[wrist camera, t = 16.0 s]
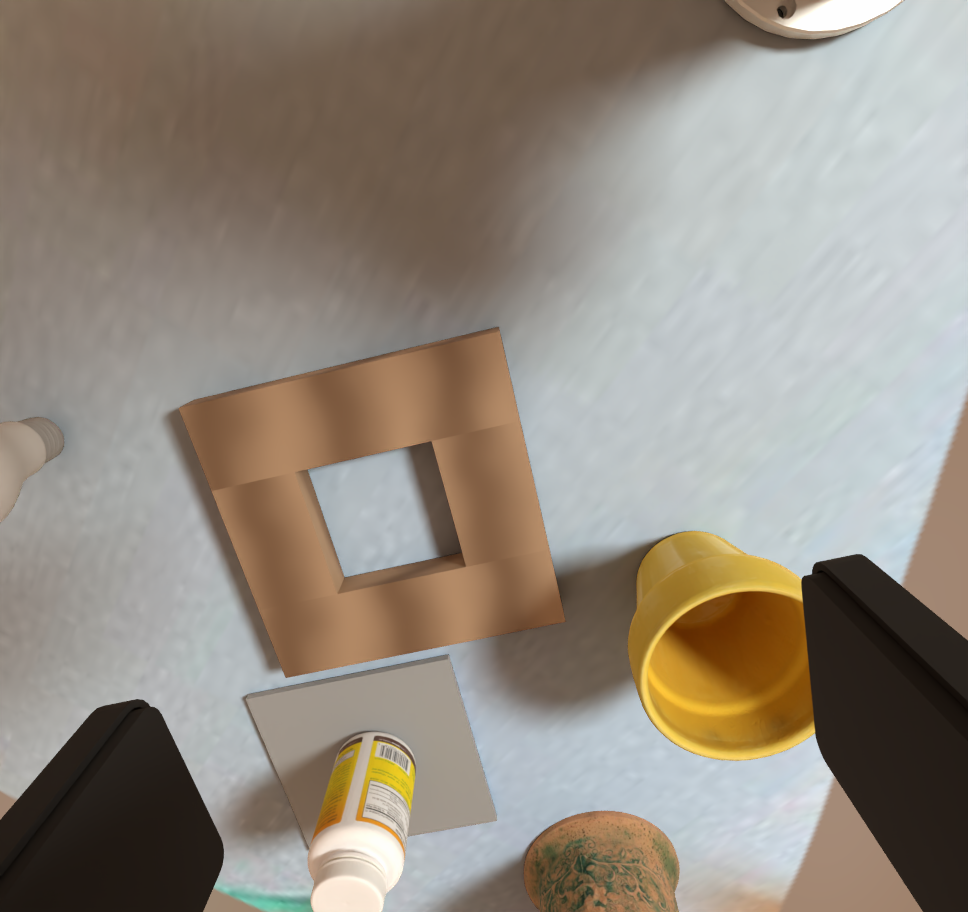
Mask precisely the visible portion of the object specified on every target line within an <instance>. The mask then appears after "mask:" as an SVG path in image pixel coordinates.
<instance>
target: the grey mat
mask: <svg viewBox="0 0 968 912" xmlns="http://www.w3.org/2000/svg"><path fill="white" fill-rule="evenodd" d="M246 701H247V704H248V706H249V708H250V711H251V713H252V715H253V718H254V720H255V723H256V725H257V727H258V730H259V732H260V734H261V737H262V739H263V741H264V744H265V746H266V748H267V751H268V753H269V755H270V758H271V760H272V762H273V765H274V767H275V769H276V772H277V774H278V777H279V779H280V781H281V784H282V786H283V788H284V791H285V793H286V795H287V798H288V800H289V802H290V805H291V807H292V809H293V812H294V814H295V816H296V819H297V821H298V824H299V826H300V828H301V831H302V833H303V835H304V838H305V840H306V842H307V845H308V847H309V848H310V845H311V842H312V838H313V835H314V831H315V828H316V825H317V821H318V818H319V815H320V811H321V808H322V804H323V801H324V797H325V794H326V790H327V787H328V784H329V780H330V777H331V774H332V770H333V767H334V763H335V760H336V757H337V754H338V752H339V750H340V749H341V747H342V746H343V745H344V744H345V743H346V742H347V741H348V740H349V739H351V738H352V737H354V736H356V735H359V734H362V733H366V732H384V733H388V734H391V735H393V736H395V737H397V738H399V739H401V740H402V741H403V742H404V743H406V745H407V746H408V747H409V748H410V750H411V751H412V753H413V755H414V758H415V762H416V776H415V782H414V790H413V797H412V805H411V813H410V821H409V828H408V836H413V835H419V834H425V833H430V832H436V831H442V830H447V829H453V828H459V827H464V826H470V825H476V824H481V823H487V822H493V821H497V814H496V811H495V808H494V804H493V801H492V798H491V794H490V791H489V788H488V784H487V781H486V777H485V774H484V771H483V767H482V764H481V761H480V757H479V754H478V751H477V747H476V744H475V741H474V737H473V734H472V731H471V727H470V724H469V721H468V717H467V714H466V711H465V707H464V704H463V701H462V697H461V694H460V691H459V687H458V684H457V681H456V677H455V674H454V671H453V667H452V664H451V661H450V657H449V654H448V655H443V656H438V657H433V658H428V659H423V660H418V661H413V662H408V663H403V664H398V665H393V666H388V667H383V668H378V669H373V670H368V671H363V672H358V673H353V674H348V675H343V676H338V677H333V678H328V679H323V680H318V681H313V682H308V683H303V684H298V685H293V686H288V687H283V688H278V689H273V690H268V691H263V692H258V693H253V694H248V696H247V698H246ZM408 836H407V837H408Z"/></svg>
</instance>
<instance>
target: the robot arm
mask: <svg viewBox="0 0 968 912" xmlns="http://www.w3.org/2000/svg"><path fill="white" fill-rule="evenodd" d="M724 1H725V2H726V3H727V4H728V5H729V6H730V7H732V8H733V9H734V10H735V11H736V12H737V13H738V14H739V15H740V16H741V17H743V18H744V19H745V20H747V21H749V22H750V23H752V24H754V25H756V26H757V27H759V28H761V29H763V30H764V31H767V32H770V33H774V34H777V35H781V36H784V37H787V38H798V39H820V38H826V37H832V36H838V35H842V34H844V33H847V32H850V31H852V30H855V29H858V28H860V27H863V26H865V25H867V24H869V23H870V22H872V21H874V20H876V19H877V18H879V17H881V16H883V15H885V14H887V13H888V12H889V11H891V10H892V9H894V8H895V7H896V6H898V5H899V4H900V3H902V2H903V1H905V0H724ZM777 9H781V10H782V11H783V18H781V17H780V16H779V15H778V12H777ZM801 589H802V599H803V610H804V620H805V631H806V641H807V652H808V662H809V673H810V684H811V694H812V705H813V715H814V726H815V734H816V739H817V743H818V746H819V749H820V751H821V754H822V756H823V758H824V760H825V762H826V763H827V765H828V767H829V768H830V770H831V771H832V773H833V774H834V776H835V777H836V779H837V780H838V782H839V784H840V785H841V787H842V788H843V789H844V791H845V793H846V794H847V796H848V797H849V799H850V800H851V802H852V803H853V805H854V807H855V808H856V810H857V811H858V813H859V814H860V815H861V817H862V819H863V820H864V822H865V823H866V825H867V826H868V828H869V830H870V831H871V833H872V834H873V835H874V837H875V839H876V840H877V842H878V843H879V845H880V846H881V848H882V849H883V851H884V853H885V854H886V855H887V857H888V859H889V860H890V862H891V863H892V865H893V866H894V868H895V869H896V871H897V872H898V874H899V876H900V877H901V878H902V880H903V882H904V883H905V885H906V886H907V888H908V889H909V891H910V892H911V894H912V895H913V897H914V899H915V900H916V902H917V903H918V905H919V906H920V908H921V909H922V911H923V912H968V640H966V639H965V638H964V637H963V636H962V635H960V634H959V633H958V632H957V631H955V630H954V629H953V628H952V627H951V626H949V625H948V624H947V623H946V622H944V621H943V620H942V619H941V618H940V617H938V616H937V615H936V614H935V613H933V612H932V611H931V610H930V609H929V608H927V607H926V606H925V605H924V604H923V603H921V602H920V601H919V600H918V599H917V598H915V597H914V596H913V595H912V594H910V593H909V592H908V591H907V590H906V589H904V588H903V587H902V586H901V585H900V584H898V583H897V582H896V581H895V580H893V579H892V578H891V577H890V576H889V575H887V574H886V573H885V572H884V571H883V570H881V569H880V568H879V567H878V566H876V565H875V564H874V563H873V562H872V561H870V560H869V559H868V558H867V557H865V556H863V555H862V554H856V555H851V556H846V557H841V558H836V559H831V560H826V561H821V562H816V563H815V564H814V566H813V570H812V575H807V576H804V577H803V578H802V581H801ZM223 859H224V848H223V843H222V840H221V837H220V835H219V833H218V831H217V829H216V827H215V825H214V823H213V821H212V819H211V817H210V814H209V812H208V810H207V808H206V806H205V804H204V802H203V800H202V798H201V796H200V794H199V792H198V789H197V787H196V785H195V783H194V781H193V779H192V777H191V775H190V773H189V771H188V769H187V766H186V764H185V762H184V760H183V758H182V756H181V754H180V752H179V750H178V748H177V746H176V744H175V741H174V739H173V737H172V735H171V733H170V731H169V729H168V727H167V725H166V723H165V721H164V718H163V716H162V714H161V713H160V711H159V710H158V709H156V708H155V707H150V706H149V704H148V703H146V702H145V701H144V700H139V699H136V700H131V701H126V702H121V703H116V704H111V705H106V706H102V707H99V708H97V709H96V710H95V711H94V712H92V713H91V714H90V716H89V717H88V718H87V719H86V720H85V721H84V723H83V724H82V725H81V726H80V727H79V729H78V730H77V731H76V732H75V733H74V734H73V736H72V737H71V738H70V739H69V740H68V741H67V743H66V744H65V745H64V746H63V747H62V748H61V750H60V751H59V752H58V753H57V754H56V755H55V757H54V758H53V759H52V760H51V761H50V762H49V764H48V765H47V766H46V767H45V768H44V769H43V771H42V772H41V773H40V774H39V775H38V776H37V778H36V779H35V780H34V781H33V782H32V784H31V785H30V786H29V787H28V788H27V789H26V791H25V792H24V793H23V794H22V795H21V796H20V798H19V799H18V800H17V801H16V802H15V803H14V805H13V806H12V807H11V808H10V809H9V810H8V812H7V813H6V814H5V815H4V816H3V817H2V819H1V820H0V912H203V910H204V908H205V906H206V904H207V901H208V899H209V897H210V894H211V892H212V890H213V887H214V885H215V883H216V880H217V878H218V876H219V873H220V871H221V868H222V865H223Z"/></svg>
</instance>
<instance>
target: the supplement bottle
mask: <svg viewBox="0 0 968 912" xmlns="http://www.w3.org/2000/svg"><path fill="white" fill-rule="evenodd" d="M415 776H416V762H415V758H414V755H413V753H412V751H411V750H410V748H409V747H408V746H407V745H406V743H404V742H403V741H402V740H401V739H399V738H397V737H395V736H393V735H391V734H388V733H384V732H366V733H362V734H359V735H356V736H354V737H352V738H351V739H349V740H348V741H347V742H346V743H345V744H344V745H343V746H342V747H341V749H340V750H339V752H338V754H337V757H336V760H335V763H334V767H333V770H332V774H331V777H330V780H329V784H328V787H327V790H326V794H325V797H324V801H323V804H322V808H321V811H320V815H319V818H318V821H317V825H316V828H315V831H314V835H313V838H312V842H311V845H310V848H309V853H308V868H309V872H310V874H311V877H312V879H313V880H314V887H313V890H312V894H311V906H312V909H313V911H314V912H382V909H383V905H384V899H385V895H386V893H387V892H388V891H389V890H391V889H392V888H393V887H394V886H395V884H396V883H397V882H398V880H399V878H400V876H401V874H402V870H403V865H404V860H405V851H406V844H407V836H408V828H409V821H410V813H411V805H412V797H413V790H414V782H415Z"/></svg>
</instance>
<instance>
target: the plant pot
mask: <svg viewBox="0 0 968 912" xmlns="http://www.w3.org/2000/svg"><path fill="white" fill-rule="evenodd" d="M801 581H802V580H801V579H800V578H799V577H798V576H797V575H795V574H794V573H793V572H791V571H790V570H788V569H787V568H785V567H783V566H781V565H779V564H777V563H775V562H772V561H770V560H767V559H764V558H760V557H756V556H751V555H747V554H746V553H744V552H743V551H741V550H740V549H738V548H736V547H735V546H733V545H732V544H730V543H729V542H727V541H726V540H724V539H723V538H721V537H719V536H716V535H714V534H710V533H706V532H700V531H688V532H682V533H678V534H675V535H672V536H670V537H668V538H666V539H664V540H662V541H661V542H659V543H658V544H656V545H655V546H654V547H653V548H652V549H651V550H650V551H649V552H648V553H647V554H646V556H645V557H644V559H643V560H642V562H641V564H640V567H639V570H638V573H637V580H636V588H637V610H636V612H635V614H634V617H633V619H632V622H631V626H630V630H629V636H628V654H629V660H630V665H631V670H632V674H633V678H634V681H635V685H636V688H637V691H638V695H639V697H640V700H641V703H642V706H643V708H644V710H645V712H646V714H647V715H648V717H649V719H650V720H651V722H652V723H653V724H654V726H655V727H656V728H657V729H658V730H659V731H660V732H661V733H662V734H663V735H664V736H665V737H666V738H667V739H669V740H670V741H671V742H673V743H674V744H676V745H677V746H679V747H681V748H683V749H684V750H687V751H689V752H691V753H694V754H697V755H700V756H703V757H708V758H713V759H718V760H734V761H740V760H752V759H758V758H763V757H767V756H771V755H774V754H777V753H780V752H783V751H785V750H788V749H790V748H792V747H794V746H796V745H798V744H800V743H801V742H803V741H804V740H806V739H807V738H809V737H810V736H812V735H813V734H814V733H815V726H814V715H813V705H812V694H811V684H810V673H809V662H808V652H807V641H806V631H805V620H804V610H803V599H802V589H801Z"/></svg>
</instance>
